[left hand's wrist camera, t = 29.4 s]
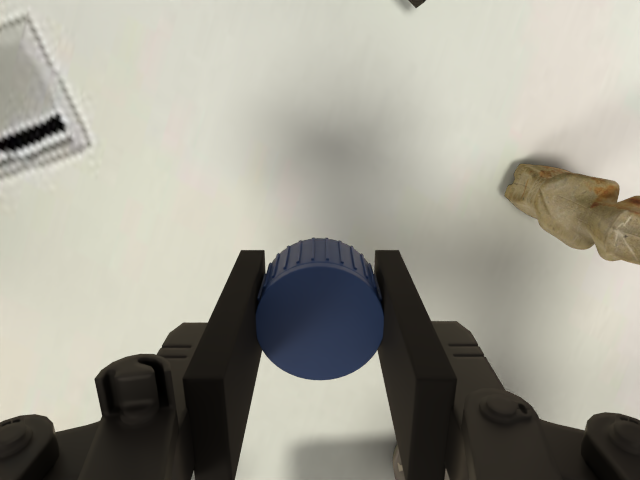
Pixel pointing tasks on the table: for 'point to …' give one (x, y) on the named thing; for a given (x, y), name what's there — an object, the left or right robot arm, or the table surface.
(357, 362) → the cap
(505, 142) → the table surface
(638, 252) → the sculpture
